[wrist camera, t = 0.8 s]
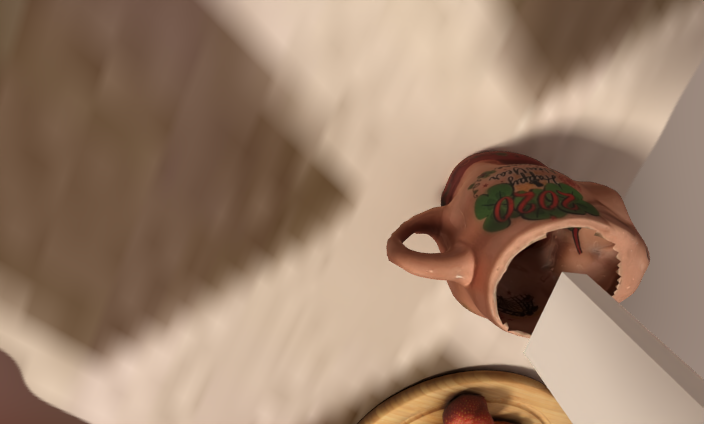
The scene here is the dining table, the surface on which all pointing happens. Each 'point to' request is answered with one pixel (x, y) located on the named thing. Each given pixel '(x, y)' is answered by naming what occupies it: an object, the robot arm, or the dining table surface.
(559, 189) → the brown rounded vessel
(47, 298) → the dining table surface
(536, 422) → the wooden plate with food
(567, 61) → the dining table surface
